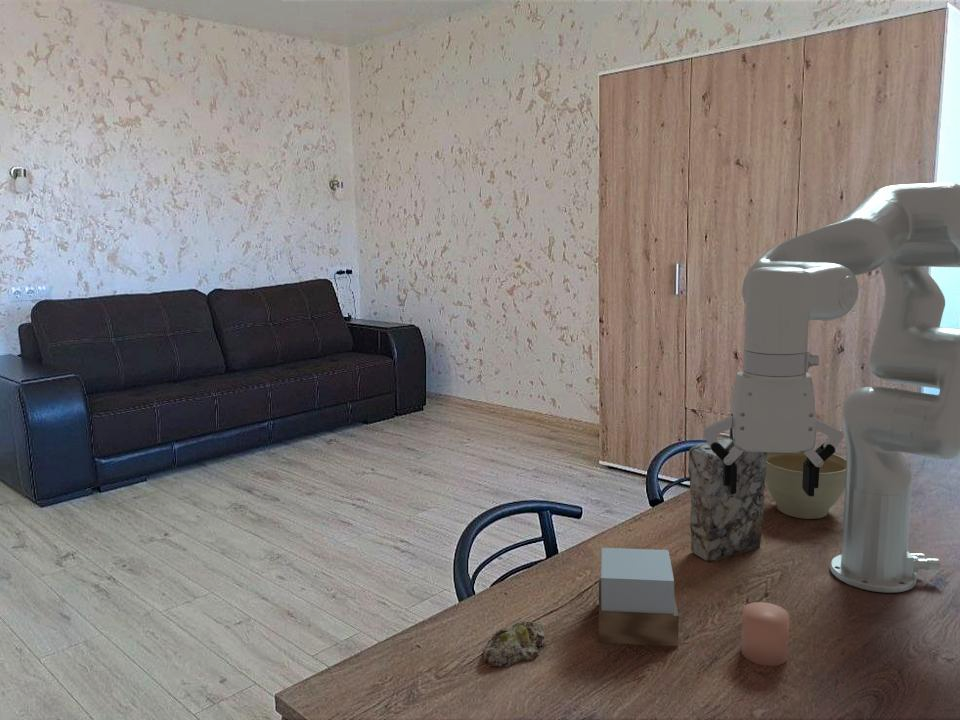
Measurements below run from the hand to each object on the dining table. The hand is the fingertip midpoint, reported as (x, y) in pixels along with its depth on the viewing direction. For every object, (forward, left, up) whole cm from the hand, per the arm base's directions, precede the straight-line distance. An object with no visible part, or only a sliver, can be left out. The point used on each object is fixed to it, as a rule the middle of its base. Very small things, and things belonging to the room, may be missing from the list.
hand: (769, 491), depth 100 cm
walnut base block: (+17, -6, -24) cm, 30 cm away
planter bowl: (-18, -53, -24) cm, 61 cm away
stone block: (0, -33, -24) cm, 41 cm away
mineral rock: (+34, +2, -24) cm, 42 cm away
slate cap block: (+17, -6, -19) cm, 26 cm away
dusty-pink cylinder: (0, 0, -23) cm, 23 cm away
